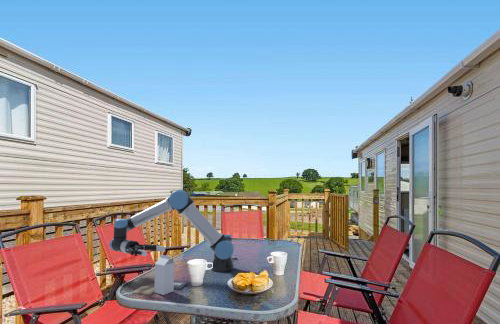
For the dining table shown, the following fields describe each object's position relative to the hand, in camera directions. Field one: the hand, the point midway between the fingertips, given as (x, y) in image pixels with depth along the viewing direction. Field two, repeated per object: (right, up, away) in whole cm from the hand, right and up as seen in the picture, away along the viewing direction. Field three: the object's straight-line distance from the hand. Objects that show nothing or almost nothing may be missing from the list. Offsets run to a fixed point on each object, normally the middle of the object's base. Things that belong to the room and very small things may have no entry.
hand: (155, 251), depth 174 cm
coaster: (-2, -18, -9) cm, 21 cm away
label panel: (+8, -19, -1) cm, 21 cm away
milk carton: (+7, -19, -11) cm, 23 cm away
